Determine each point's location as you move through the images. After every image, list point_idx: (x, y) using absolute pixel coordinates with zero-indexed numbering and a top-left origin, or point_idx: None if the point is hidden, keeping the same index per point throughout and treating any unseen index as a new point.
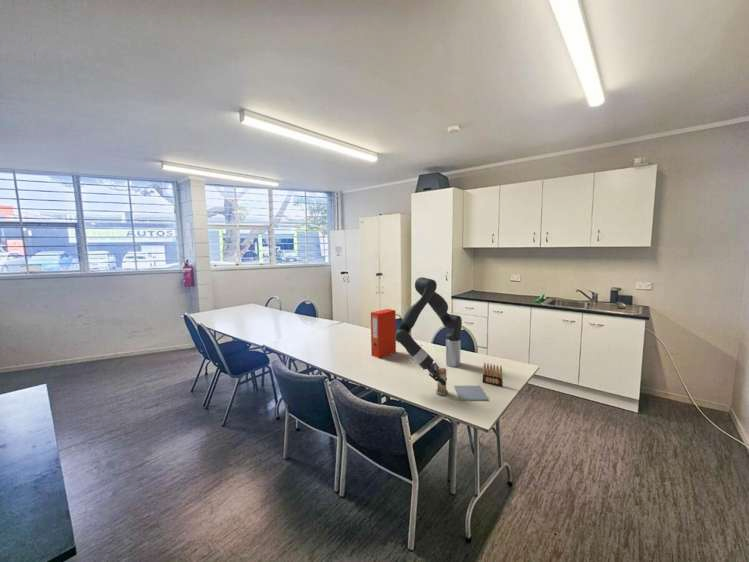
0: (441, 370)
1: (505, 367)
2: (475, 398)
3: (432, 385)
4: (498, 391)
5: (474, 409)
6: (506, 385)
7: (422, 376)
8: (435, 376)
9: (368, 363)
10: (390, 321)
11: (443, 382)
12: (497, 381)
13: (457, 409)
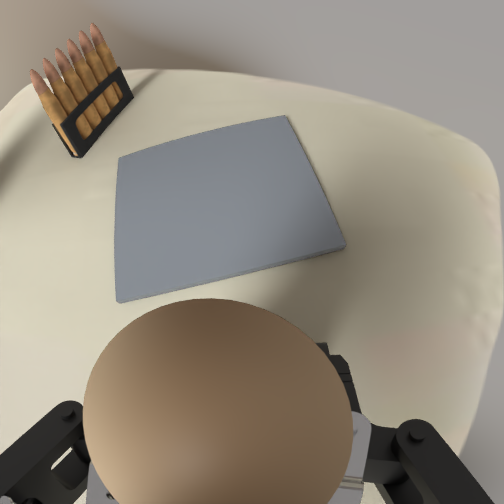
0: (312, 442)
1: (6, 126)
2: (295, 162)
3: None
4: (174, 98)
5: (411, 176)
6: None
7: None
8: (463, 490)
9: None
10: None
11: (350, 375)
12: (114, 92)
13: (456, 259)
